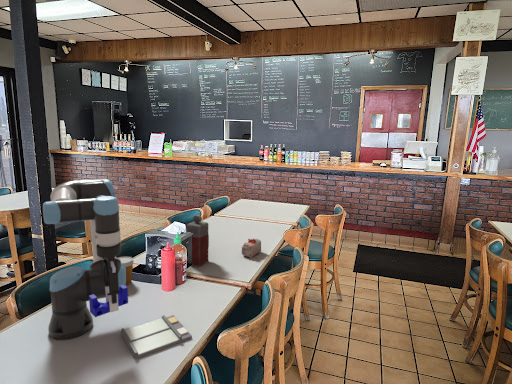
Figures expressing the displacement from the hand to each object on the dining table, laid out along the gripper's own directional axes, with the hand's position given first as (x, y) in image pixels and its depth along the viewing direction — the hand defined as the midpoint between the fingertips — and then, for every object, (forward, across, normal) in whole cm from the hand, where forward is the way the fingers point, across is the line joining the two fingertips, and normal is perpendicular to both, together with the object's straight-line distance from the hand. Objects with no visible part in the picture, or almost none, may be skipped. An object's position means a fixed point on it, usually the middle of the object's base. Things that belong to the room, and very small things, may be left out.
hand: (112, 306), depth 121 cm
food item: (+16, -51, +91) cm, 105 cm away
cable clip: (0, 0, -1) cm, 1 cm away
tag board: (+16, +1, +15) cm, 22 cm away
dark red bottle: (+16, -56, +58) cm, 82 cm away
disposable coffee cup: (+16, -50, +15) cm, 55 cm away
